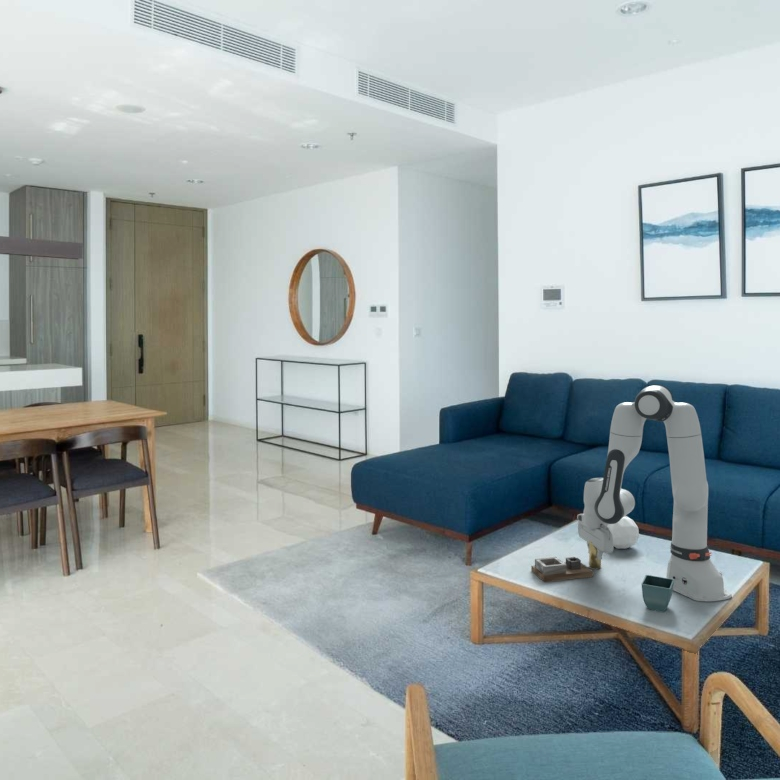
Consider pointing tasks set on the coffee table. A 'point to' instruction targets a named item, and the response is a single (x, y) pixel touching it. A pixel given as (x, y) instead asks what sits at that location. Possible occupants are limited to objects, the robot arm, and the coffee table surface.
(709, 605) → the coffee table surface
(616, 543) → the geodesic sphere
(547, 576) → the board
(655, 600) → the flower pot
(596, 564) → the brass cylinder rod
